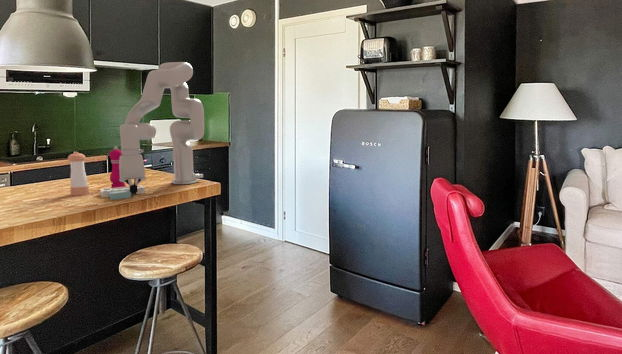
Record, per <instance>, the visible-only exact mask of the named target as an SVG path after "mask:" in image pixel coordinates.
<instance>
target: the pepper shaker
mask: <svg viewBox="0 0 622 354" xmlns="http://www.w3.org/2000/svg"><path fill="white" fill-rule="evenodd" d="M67 159H68V161H69V162H70V163H69V164H70V178H69V179H70V189H69V190H70V195H71V196H84V195H88V194H90V190H89V189H90V188H89V185H88V177H87V174H86V169H85V161H86V155H85V154H83V153H80V152H78V151H74V152H73V153H71V154H69V155H68V156H67Z"/></svg>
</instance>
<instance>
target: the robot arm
mask: <svg viewBox="0 0 622 354" xmlns="http://www.w3.org/2000/svg"><path fill="white" fill-rule="evenodd" d="M193 74H194V70H193V67H192V65H191V64H190V63H188V62H185V61H177V62H175V61H174V62H172V61H171V62H164V63H161V64H160V65H159V67H158V69H154V70H151V71H150V72H149V71H148V74H147V77H146V79H145V80H146V81H145V83H144V87H143V91H142V94H141V97H140V99H139V100H138V101H137V102H136V103H135V104H134V106H133V107H132V108H131V109H130V110H129V112H128V113H127V115H126V118H125V122H124V123H123V124H121V125H120V126H119V136H120V137H119V138H120V148H121V149H120V151H121V152H122V156H120V159H119V174H120V182H124V183H125V184H127V185H128V187H130V193H132V195H133V196H134V195H137V194H136V192H138V191H137V186H139V183H140V182H142V181H145V180H146V179H147V177H146V169H145V168H146V167H145V163H144V162H145V161H144V158H143V155H142V153H145V150H144V149H143V148H142V149H141V145H140V144H141V143H140V141H149V140H152V139H154V138H155V136H156V134H157V128H156V127H155V125H153V124H152V123H148V122H140V121H141V120H142V118H143V117H144V116H145V115H146V114H148V113H149V112H152V111H155V109H157V108H159V107H160V105H161V103H162V99H163V96H164V91H165V89H170V95H171V99H170V100H171V110H172V111H171V112H172V114H173V116H174V117H175V118H181V119H183V118H184V119H189V120H175V121H173V122H172V123H171V124H170V126H169V133H170V134H169V135H170V138H171V143H172V152H173V153H172V154H173V156H172V157H173V173H174V174H173V175H174V179H172V180H171V184H174V185H191V184H196V183H197V182H198V179H199V178H200V179H201V178H202V179H203V178H204V174H203V173H195V172H194V155H193V153H194V151H193V145H192V143H191V141H198V140H202V139H203V138H204V137H205V136H204V135H205V110H204V105H203V103H202V101H201V100H200V99H198V98H190V94H189V93H190V92H189V90H190V89H189V86H188V84H187V83H186V82H188V81H189V80H191V78H192V77H193ZM132 179H134V180H133V182H132ZM132 195H131V196H132Z"/></svg>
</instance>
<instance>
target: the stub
mask: <svg viewBox="0 0 622 354" xmlns="http://www.w3.org/2000/svg"><path fill="white" fill-rule="evenodd" d="M131 197H132V195H131V194H130V191H129V190H120V191H119V190H118V191H109V197H108V198H109V199H110V200H111V201H112V200H122V199H131Z"/></svg>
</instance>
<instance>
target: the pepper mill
mask: <svg viewBox="0 0 622 354" xmlns="http://www.w3.org/2000/svg"><path fill="white" fill-rule="evenodd" d="M108 154H109V156H108V157H109V158H110V161H111V164H112V166H111V167H112V170H111V172H110V175H109V181H110V182H111V183H112V184H111V188H118V187H127V186H126V182H120V174H119V159H120V156H122V152H121V149H119V148H118V146H113V149H112V150H110V151H109V153H108Z"/></svg>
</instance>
